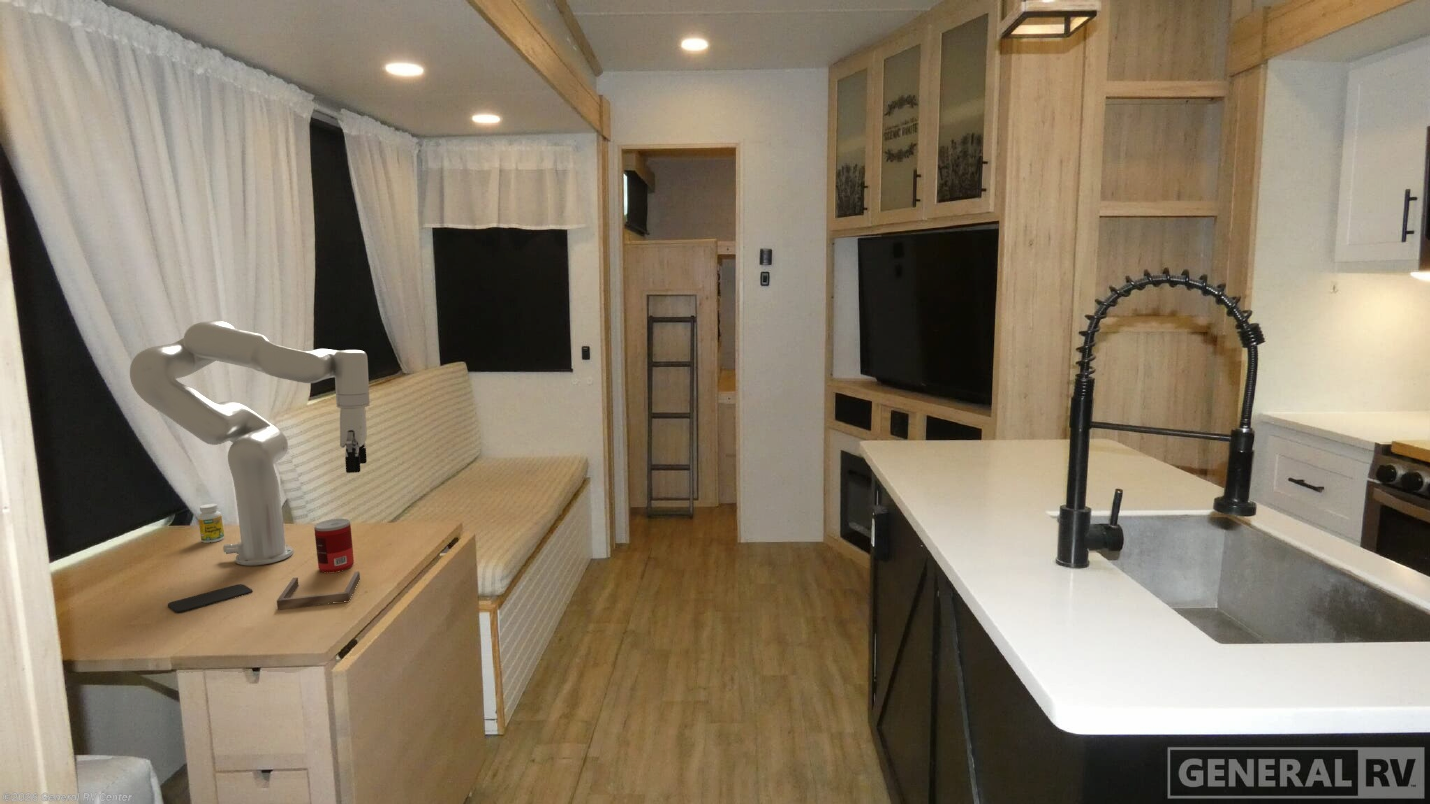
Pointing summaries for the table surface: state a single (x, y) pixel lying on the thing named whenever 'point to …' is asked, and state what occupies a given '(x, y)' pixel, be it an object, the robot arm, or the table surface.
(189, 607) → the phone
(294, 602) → the walnut frame
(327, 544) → the canned food
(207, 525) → the supplement bottle
